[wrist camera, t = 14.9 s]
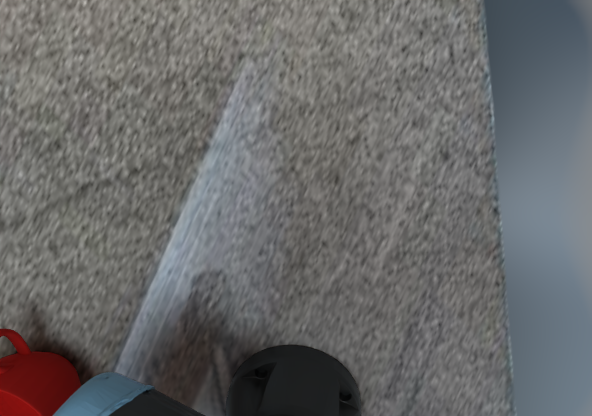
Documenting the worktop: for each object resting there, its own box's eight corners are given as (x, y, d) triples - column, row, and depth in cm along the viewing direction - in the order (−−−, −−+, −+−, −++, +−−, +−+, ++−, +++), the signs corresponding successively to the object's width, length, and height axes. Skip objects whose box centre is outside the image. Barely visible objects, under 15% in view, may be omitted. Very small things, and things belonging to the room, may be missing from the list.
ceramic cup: (91, 299, 53) (37, 353, 44) (112, 421, 59) (68, 493, 49) (-19, 295, 55) (-94, 347, 45) (12, 416, 60) (-50, 485, 51)
